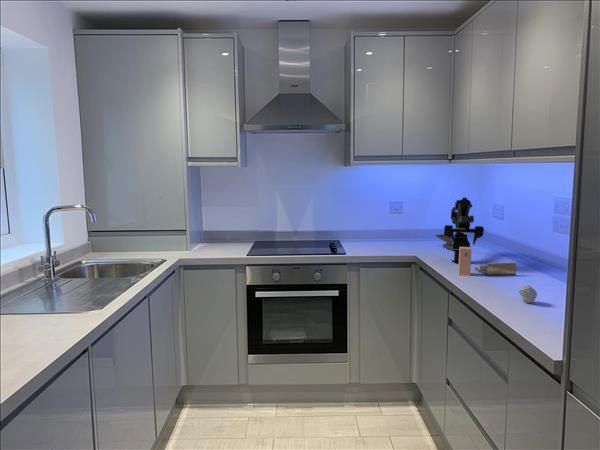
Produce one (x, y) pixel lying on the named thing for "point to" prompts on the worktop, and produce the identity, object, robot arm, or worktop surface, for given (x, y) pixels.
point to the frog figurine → (528, 294)
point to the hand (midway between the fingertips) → (463, 244)
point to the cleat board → (497, 269)
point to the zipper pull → (447, 240)
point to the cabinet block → (464, 261)
